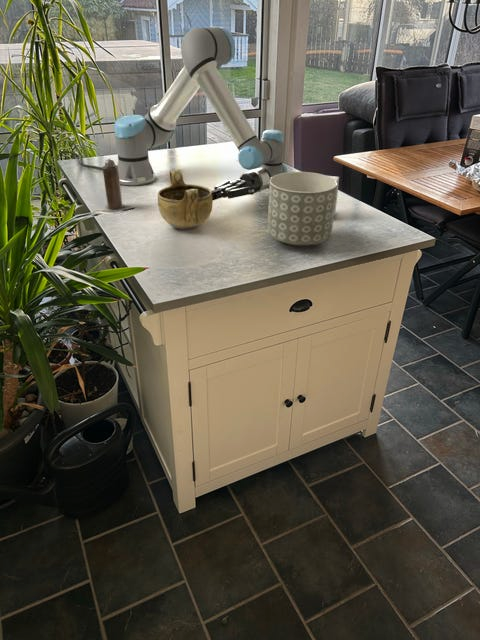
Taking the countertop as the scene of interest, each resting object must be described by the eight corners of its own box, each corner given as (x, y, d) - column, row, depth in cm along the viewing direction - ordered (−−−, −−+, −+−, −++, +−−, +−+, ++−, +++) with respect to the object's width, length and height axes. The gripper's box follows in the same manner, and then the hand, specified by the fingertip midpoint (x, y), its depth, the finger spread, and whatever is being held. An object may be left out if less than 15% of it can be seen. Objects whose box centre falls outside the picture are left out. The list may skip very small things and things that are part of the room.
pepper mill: (105, 207, 175) (98, 159, 166) (117, 203, 177) (112, 156, 169) (112, 210, 171) (106, 162, 163) (125, 207, 174) (119, 159, 165)
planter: (272, 226, 161) (275, 169, 151) (332, 231, 158) (338, 174, 148) (262, 251, 145) (264, 189, 136) (328, 257, 142) (335, 194, 133)
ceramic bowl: (152, 216, 168) (149, 171, 160) (202, 210, 173) (200, 166, 165) (168, 242, 150) (165, 192, 142) (222, 234, 155) (222, 186, 147)
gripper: (267, 196, 176) (220, 214, 161) (240, 188, 183) (192, 204, 168) (268, 175, 172) (220, 190, 157) (240, 167, 179) (191, 182, 164)
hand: (205, 197), depth 163 cm, fingers closed
